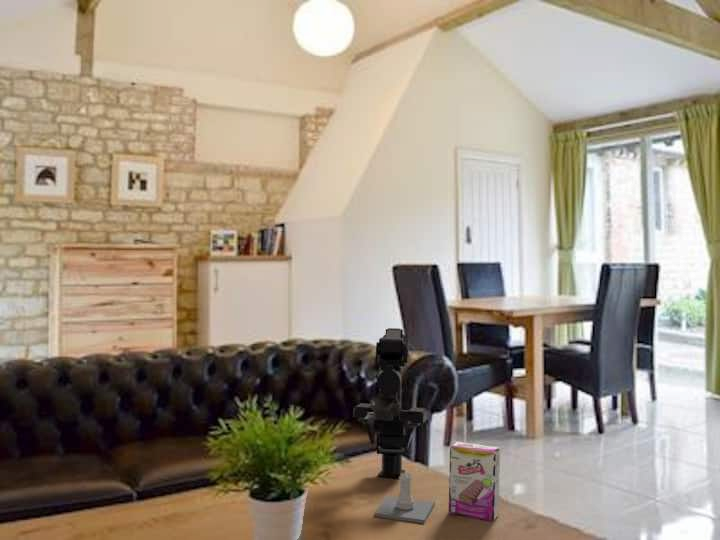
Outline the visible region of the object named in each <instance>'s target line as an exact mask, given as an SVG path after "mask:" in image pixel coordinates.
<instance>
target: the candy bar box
mask: <svg viewBox="0 0 720 540" xmlns="http://www.w3.org/2000/svg"><path fill="white" fill-rule="evenodd" d="M500 465H501V448H500V447H498V446H491V445H485V444H478V443H471V442H464V441H457V440H456V441H454V442H453V443H452V444H450V446H449V478H448V481H449V482H448V483H449V484H448V487H449V488H448V514H451V515H457V516H461V517H466V518H471V519H477V520H483V521H487V522H495V521H496V519H497V518H498V516H499V515H500V513H499V512H500V511H499V510H500V509H499V508H500V506H499V504H500V467H501V466H500Z"/></svg>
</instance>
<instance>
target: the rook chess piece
mask: <svg viewBox="0 0 720 540" xmlns="http://www.w3.org/2000/svg"><path fill="white" fill-rule="evenodd" d="M411 475H412V474H411V473H410V472H406V471H405V472H404V474H403V473H401V474H400V477H399V478H398V480H399V481H400V483H399V487H400V488H399V494H398V495H397V497H398V498H397V500H396V502H397V504H396V506H397V508H398V509H401V510H411V509H413V507H414V504H413V503H414V500H413V499H414V498H413V496H412V491H411V486H412V484H411V481H412V480H413V477H412V476H411Z"/></svg>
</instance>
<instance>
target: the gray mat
mask: <svg viewBox="0 0 720 540" xmlns="http://www.w3.org/2000/svg"><path fill="white" fill-rule="evenodd" d="M397 498H398V496H390V495H387V496H386V497H385V499H384V500H383V501H382V502H381V504H380V505H379V506H378V508H377V509H376V510H375V511H374V512H373V517H375V518H382V519H383V518H384V519H389V520H390V519H391V520H397V521H404V522H411V523H412V522H413V523H417V524H418V523H419V524H426V522H427V520H428V518H429V516H430V515H431V512H432V510H433V508H434V507H435V501H429V500H421V499H416V498H415V499H414V498H413V500H414V503H413V504H414V507H413V509H411V510H401V509H398V508H397V506H396V504H397V502H396V500H397Z"/></svg>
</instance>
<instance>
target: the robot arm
mask: <svg viewBox="0 0 720 540" xmlns="http://www.w3.org/2000/svg"><path fill="white" fill-rule="evenodd" d="M375 345H376V347H375V361H374V362H375V363H374V366H375V367H380V368H379V374H378V376H377V380H376V385H377V387H378V389H379V390H378V394H377V395H378V396H377V399H376V401H375V403H374V404H373V403H364V402H363V403H362V402H360V403H359V404H358V405H356V406H354V408H353V409H352V410H353V411H352V418H356V419H357V421H358V422H361V423H362V424H363V426H364V427H365V430H366V432H367V435H368V437H369V441H370V444H371V445H372V446H373V445H374V444H375V437H376V454H377V455H381V470H380V471H379V472H378V473H377V476H378V477H382V478H383V477H384V478H391V479H392V478H393V479H399V477H400V474H401V473H403V474H404V472H406V470H405V469H403V468H402V467H403V456H407V455H409V454H410V443H411V440H412V437H413V435H414V432H415V430H416V428H417V427H419V426H420V425H421V424H424V423H425V422H426V421H427V420H428V411H427V409H426V408H424V407H411V408H410V409H409V410H404V409H403V407H402V405H403V404H402V393H403V388H402V383H403V382H402V378H403V377H402V373H403V372H402V371H403V369H404V368H405V367H406V365H407V364H408V358H409V355H410V353H409V352H410V339H409V338H408V337H407V335H405V334H404V330H403V329H402V328H399V327H398V328H394V327H388V328H386V329H385V334H384V335H383V336H382V337H380V338H379V340H378V341H376V344H375ZM402 418H403V419H407V420H408V422H407V423H406V433H405V425H404V423H403V421H402V420H401V419H402ZM375 421H381V422H380V423H379V428H378V429H379V431H377V432H376V434H375V429H376V428H375ZM375 435H376V436H375Z"/></svg>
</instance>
